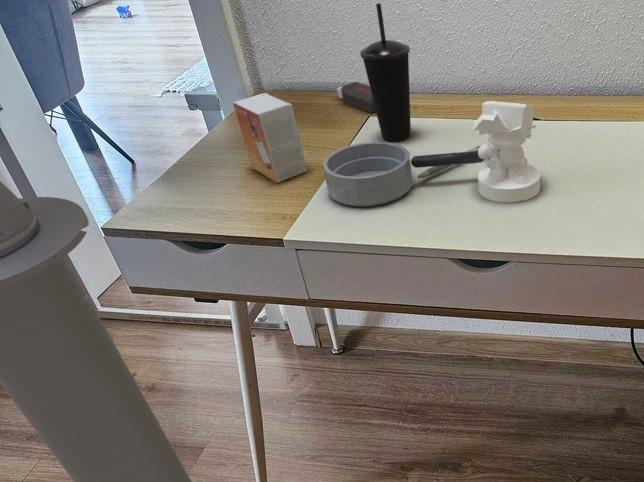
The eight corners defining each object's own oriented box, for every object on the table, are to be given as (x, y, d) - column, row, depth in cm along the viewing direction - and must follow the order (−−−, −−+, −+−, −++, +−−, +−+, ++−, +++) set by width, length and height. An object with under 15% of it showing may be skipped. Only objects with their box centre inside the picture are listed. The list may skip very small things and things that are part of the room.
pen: (487, 152, 98) (486, 144, 97) (420, 184, 91) (419, 175, 90) (482, 151, 98) (482, 142, 98) (415, 182, 91) (414, 173, 91)
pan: (324, 212, 86) (317, 181, 83) (334, 173, 96) (328, 145, 93) (412, 205, 86) (408, 174, 83) (413, 167, 96) (410, 138, 93)
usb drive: (371, 113, 114) (369, 98, 113) (334, 100, 121) (331, 85, 120) (393, 105, 117) (391, 90, 115) (356, 92, 124) (354, 78, 122)
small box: (251, 169, 99) (231, 101, 92) (283, 157, 102) (265, 91, 95) (276, 184, 94) (257, 114, 87) (308, 171, 97) (291, 102, 90)
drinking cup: (398, 149, 101) (379, 12, 88) (364, 140, 105) (341, 7, 92) (428, 132, 106) (414, 0, 93) (395, 124, 109) (377, -4, 96)
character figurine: (468, 197, 87) (462, 110, 79) (494, 168, 93) (491, 85, 86) (528, 206, 84) (528, 117, 76) (550, 176, 90) (553, 91, 82)
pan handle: (411, 170, 89) (410, 159, 88) (411, 165, 90) (410, 154, 89) (486, 163, 89) (485, 153, 87) (485, 159, 90) (484, 148, 89)
